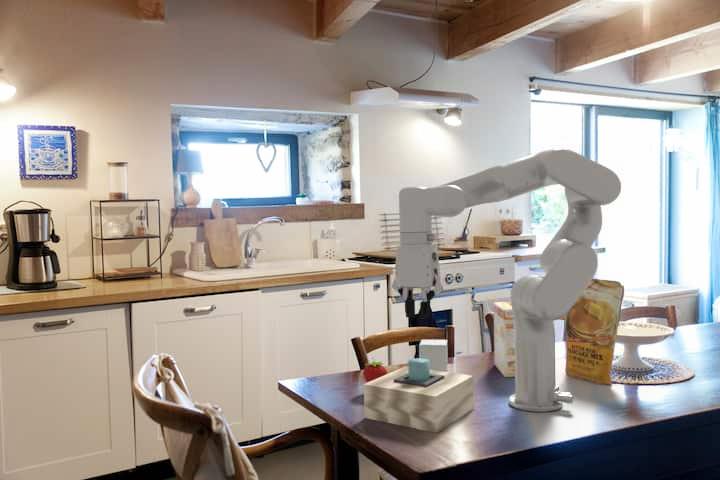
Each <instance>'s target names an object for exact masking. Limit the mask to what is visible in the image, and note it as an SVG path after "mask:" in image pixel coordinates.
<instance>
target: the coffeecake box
mask: <svg viewBox="0 0 720 480" xmlns="http://www.w3.org/2000/svg"><path fill="white" fill-rule="evenodd" d="M493 342H494V343H493V348H494V349H493V350H494V351H493V353H494V355H493V356H494V359H493V360H494V366H496V368H497V369H498V371H499V372H500V373H501V374H502V376H503V377H504V378H515V334H514V318H513V311H512V305H511V301H494V302H493Z"/></svg>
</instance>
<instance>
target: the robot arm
mask: <svg viewBox="0 0 720 480" xmlns="http://www.w3.org/2000/svg"><path fill="white" fill-rule="evenodd" d="M552 185H553V186H554V185H555V186H557V185H559V186H562V187H564V195H565V198H566V202H567V208H568V209H567V211H568V212H567V215H566V218H565V220H564V222H563V223H562V225H561V226H560V228H559V229H558V231H556V233H555V234H554V236H553V237H552V239H551V240H550V242H548V244H547V245H546V247H544V250H542V253H541V255H540V258H539V265H540V268H541V269H542V271H543V272H544V273H545V276H540V275H535V274H534V275H533V274H528V275H524V276H522V277H520V278H518V279H517V280H516V281H515V283H514V284H513V286H512V288H511V291H510V302H511V305H512V311H513V318H514V334H515V377H514V383H515V384H514V386H515V387H514V389H515V392H514V394H511V395H510V396H509V398H508V403H509V405H510V406H511V407H514V408H516V409H518V410H522V411H527V412H535V413H537V412H539V413H541V412H543V413H544V412H552V411H556V410H559V409H561V408H562V407H563V403H564V404H570V405H572V404H573V402H574V396H573V395H572V393H570V392H562V391H561V390H560V385H558V384H557V385H556V331H555V322H554V321H557V320H559V319H561V318H564V317H565V314H567V312H568V311H569V310H570V309H571V308H572V306H573V305H574V304H575V302H576V301H577V300H578V298H579V297H580V296H581V294H582V293H583V291H584V290H585V289H586V287H587V286H588V285H589V283H590V282H591V280H592V279H593V278H594V277H595V275H596V273H597V269H598V265H599V261H598V256H597V253H596V251H595V249H594V248H593V247H592V246H593V244H594V242H595V241H596V240H597V238H598V236H599V235H600V233H601V230H602V227H603V214H602V207H601V206H606V205H609V204H612V203H613V202H615V201H616V200H617V198H619V196H620V194H621V191H622V183H621V179H620V178H619V176H618V175H617V173H615V172H614V171H613V170H612V169H611V168H608V167H606V166H605V165H602V164H600V163H598V162H596V161H594V160H592V159H591V158H588V157H586V156H584V155H582V154H580V153H578V152H576V151H574V150H572V149H570V148H566V147H554V148H550V149H546V150H541V151H538V152H535V153H532V154H529V155H525V156H523V157H520V158H516V159H513V160H511V161H506V162H505V163H501V164H498V165H495V166H493V167H492V166H491V167H489V168H486V169H484V170H481V171H480V172H476V173H474V174H471V175H468V176H465V177H462V178H459V179H456V180H454V181H453V180H452V181H450V182H447V183H444V184H440V185H437V186H433V187H426V186H409V187H403V188H401V189H399V193H398V208H399V210H398V213H399V245H398V246H397V248H396V249H397V250H396V256H395V267H394V268H395V269H394V271H395V272H394V277H395V279H394V281H393V283H392V285H391V287H392V289H393V290H395V291H396V292H398V293H399V295H400V297H402V300H403V301H404V311H405V318H412V317H415V315H416V301H415V298H413V295H414V289H420V292H421V299H422V300H421V301H420V303H419V307H420V308H419V309H420V311H419V312H420V318H421V319H423V320H424V319H427V318H430V316H431V301H433V298H434V297H436V295H437V294H439V293H440V292H442V291H444V286H443V285H442V284H443V283H441V269H440V262H439V261H440V259H439V254H438V251H437V246H436V245H435V244H434V245H433V242H434V241H437V235H436V234H433V231H432V230H433V227H432V226H433V223H432V217H437V218H441V217H442V218H455V217H457V216H459V215H460V214H462V213H463V212H464V211H465V209H468V208H471V207H472V208H473V207H475V206H480V205H484V204H491V203H500V202H502V201H507V200H510V199H513V198H516V197H519V196H523V195H525V194H528V193H531V192H534V191H537V190H540V189H543V188H546V187H549V186H552ZM432 287H433V288H432Z"/></svg>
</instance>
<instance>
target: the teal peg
mask: <svg viewBox="0 0 720 480" xmlns="http://www.w3.org/2000/svg"><path fill="white" fill-rule="evenodd" d="M407 361H408V363H407V365H408V366H407V367H408V369H409V380H413V381H420V382H425V381H427V380H429V379H430V362H429V360H428V359H422V358H419V357H417V358H411V359H408V360H407Z"/></svg>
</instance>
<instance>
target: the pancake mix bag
mask: <svg viewBox="0 0 720 480" xmlns="http://www.w3.org/2000/svg"><path fill="white" fill-rule="evenodd" d="M624 295H625V285H622V283H621V281H616V280H608V279H597V278H594V277H593V279H592V280H591V282H590V283H589V285H588V286H587V287H586V289H585V290H584V291H583V293H582V294H581V296H580V297H579V298H578V300H577V301H576V302H575V304H574V305H573V306H572V308H571V309H570V310H569V311H568V312H567V314H565V315H564V328H565V347H566V356H565V357H566V358H565V370H564V372H565V373H567V375H568V376H571V377H573V378H576V379H580V380H582V381H587V382H590V383H593V384H597V385H610V386H613V385H612V377H611V370H612V365H613V360H614V356H615V355H614V353H615V346H616V341H617V336H618V327H619V324H620V318H621V312H622V311H621V310H622V305H623V301H624Z"/></svg>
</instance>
